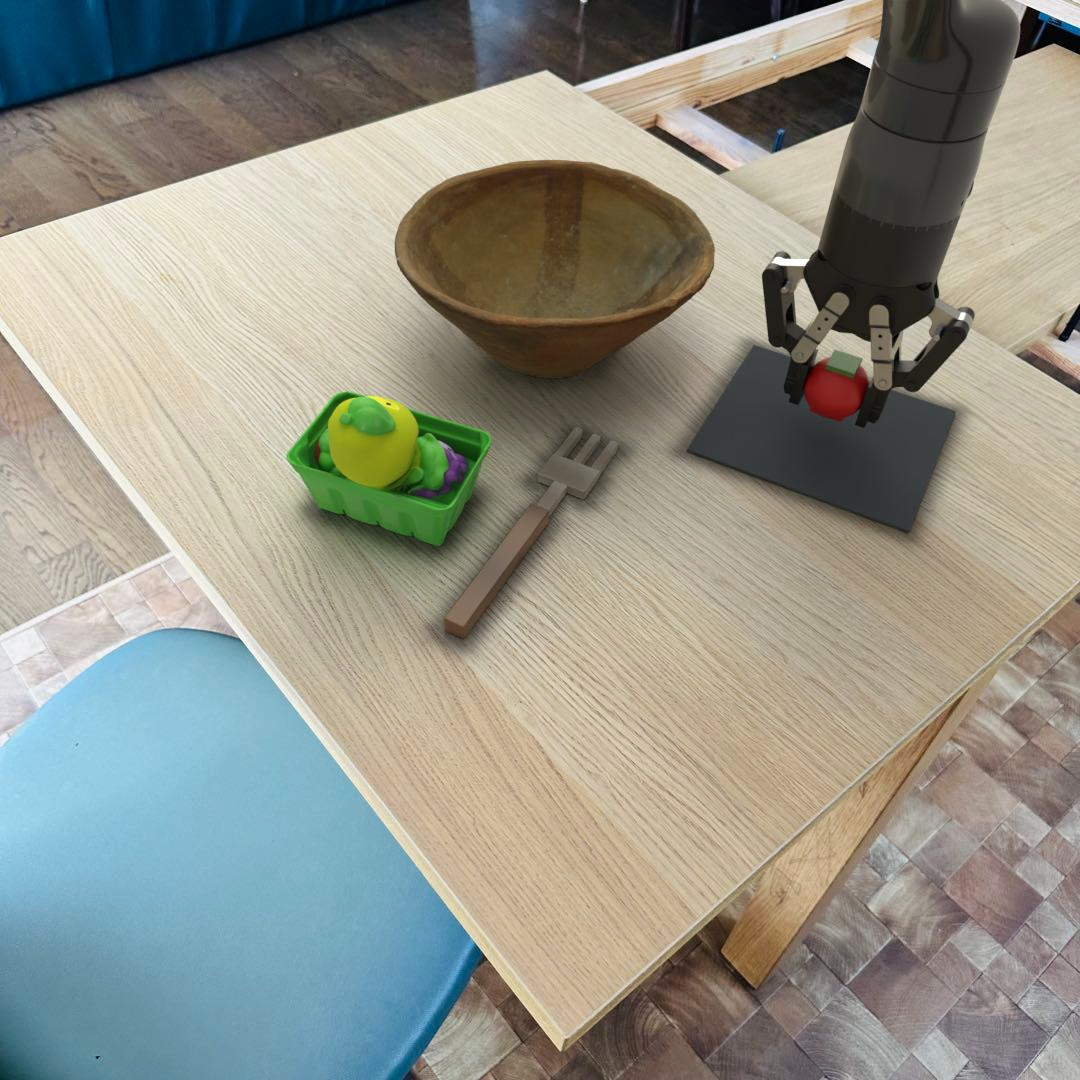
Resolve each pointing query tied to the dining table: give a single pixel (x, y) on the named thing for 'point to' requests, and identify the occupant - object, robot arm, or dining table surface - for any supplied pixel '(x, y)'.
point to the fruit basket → (390, 465)
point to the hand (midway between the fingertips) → (830, 408)
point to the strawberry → (836, 386)
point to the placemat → (825, 444)
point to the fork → (530, 526)
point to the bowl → (553, 260)
